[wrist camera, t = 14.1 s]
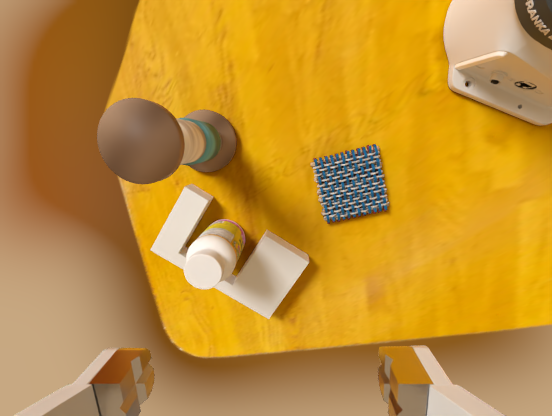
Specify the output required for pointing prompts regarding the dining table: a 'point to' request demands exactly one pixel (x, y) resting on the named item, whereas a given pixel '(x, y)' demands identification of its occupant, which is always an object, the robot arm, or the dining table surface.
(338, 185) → the woven mat
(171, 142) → the bobbin
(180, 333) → the dining table surface
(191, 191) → the notched board
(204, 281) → the supplement bottle
